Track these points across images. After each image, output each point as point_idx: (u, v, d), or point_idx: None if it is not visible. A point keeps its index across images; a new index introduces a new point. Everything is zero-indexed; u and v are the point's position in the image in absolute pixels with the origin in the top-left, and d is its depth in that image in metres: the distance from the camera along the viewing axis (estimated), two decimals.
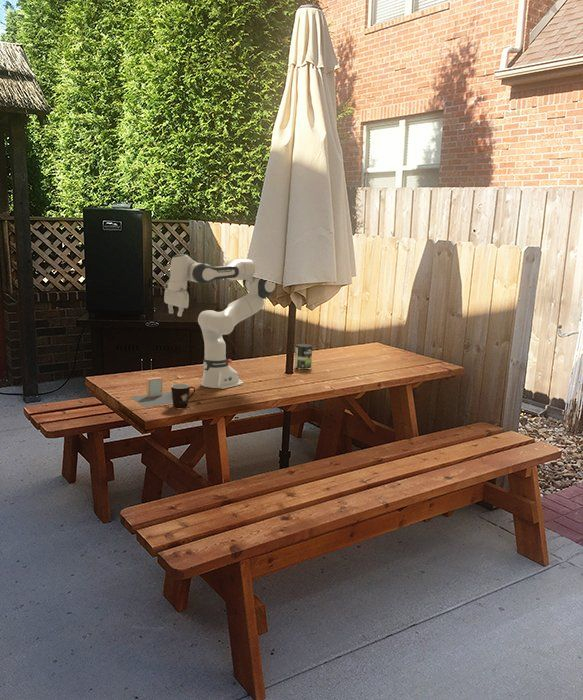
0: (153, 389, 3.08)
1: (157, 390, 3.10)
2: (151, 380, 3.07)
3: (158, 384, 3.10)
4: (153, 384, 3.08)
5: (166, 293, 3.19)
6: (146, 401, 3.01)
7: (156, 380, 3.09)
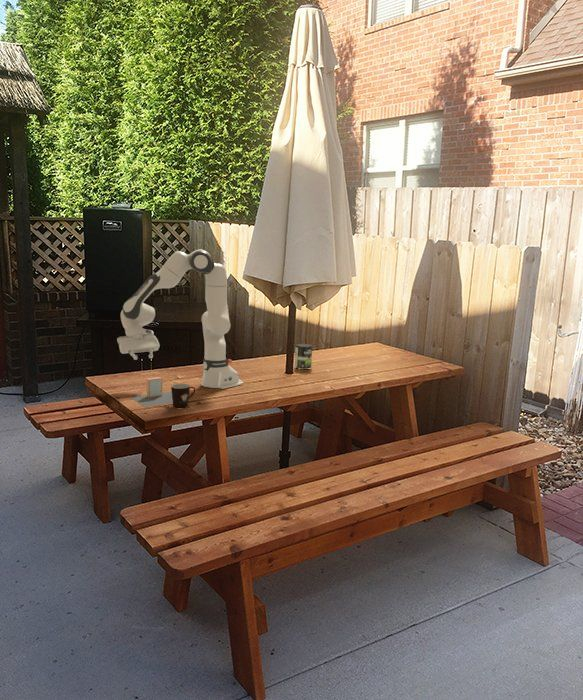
0: (153, 389, 3.08)
1: (157, 390, 3.10)
2: (151, 380, 3.07)
3: (158, 384, 3.10)
4: (153, 384, 3.08)
5: None
6: (146, 401, 3.01)
7: (156, 380, 3.09)
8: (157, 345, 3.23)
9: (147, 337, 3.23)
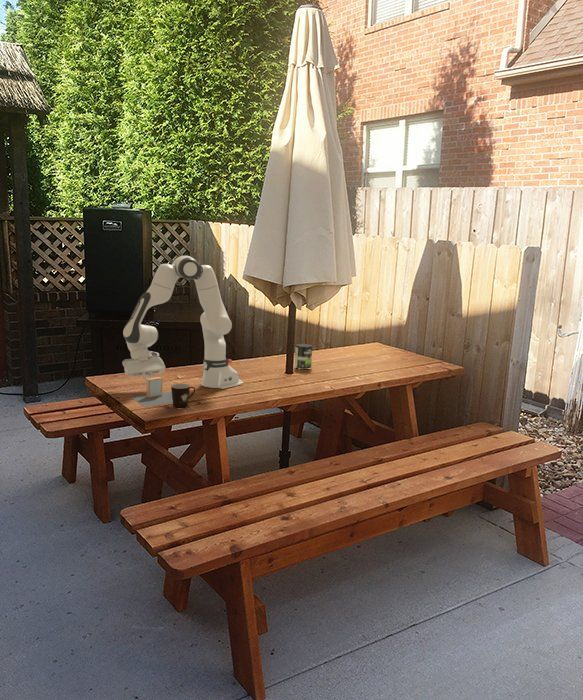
0: (153, 389, 3.08)
1: (157, 390, 3.10)
2: (151, 380, 3.07)
3: (158, 384, 3.10)
4: (153, 384, 3.08)
5: None
6: (146, 401, 3.01)
7: (156, 380, 3.09)
8: (163, 367, 3.20)
9: (152, 359, 3.20)
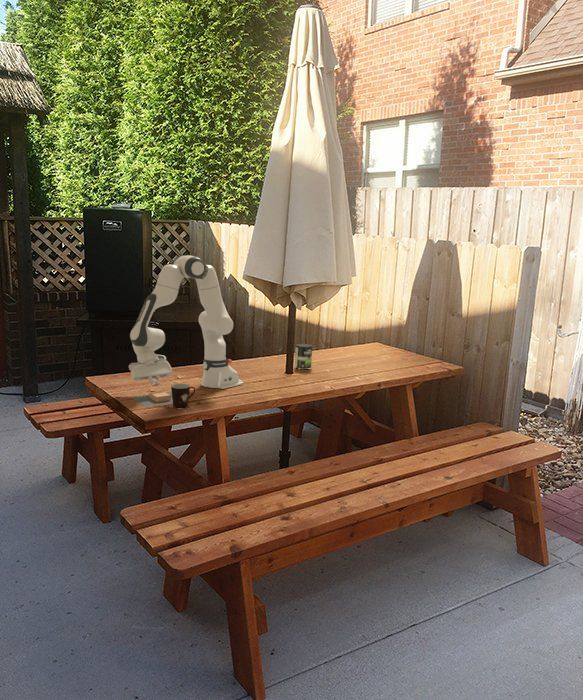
0: None
1: None
2: (159, 401, 3.02)
3: None
4: None
5: None
6: (146, 401, 3.01)
7: (163, 400, 3.04)
8: (170, 371, 3.14)
9: (159, 362, 3.14)
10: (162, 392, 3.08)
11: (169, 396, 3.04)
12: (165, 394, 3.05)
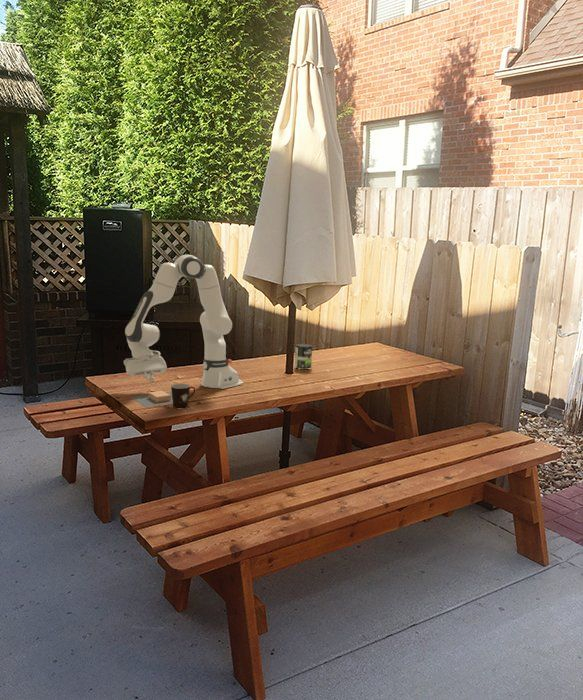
0: None
1: None
2: (159, 401, 3.02)
3: None
4: None
5: None
6: (146, 401, 3.01)
7: (163, 400, 3.04)
8: (164, 366, 3.19)
9: (153, 358, 3.18)
10: (162, 392, 3.08)
11: (169, 396, 3.04)
12: (165, 394, 3.05)
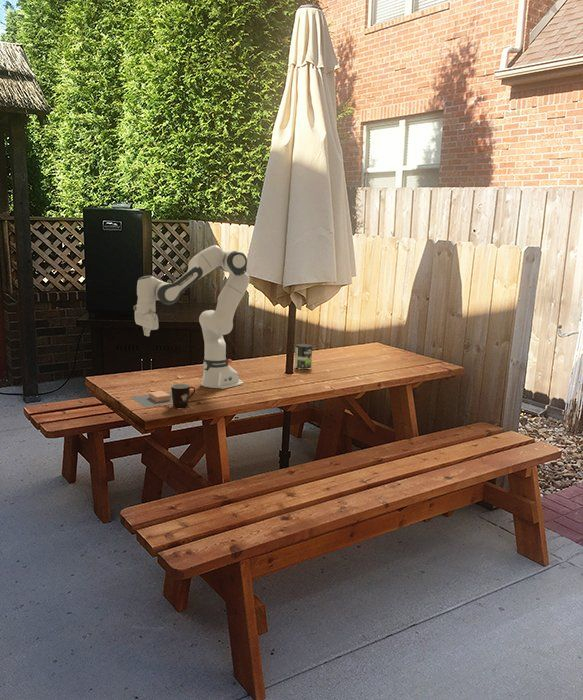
0: None
1: None
2: (159, 401, 3.02)
3: None
4: None
5: (136, 314, 3.22)
6: (146, 401, 3.01)
7: (163, 400, 3.04)
8: None
9: None
10: (162, 392, 3.08)
11: (169, 396, 3.04)
12: (165, 394, 3.05)
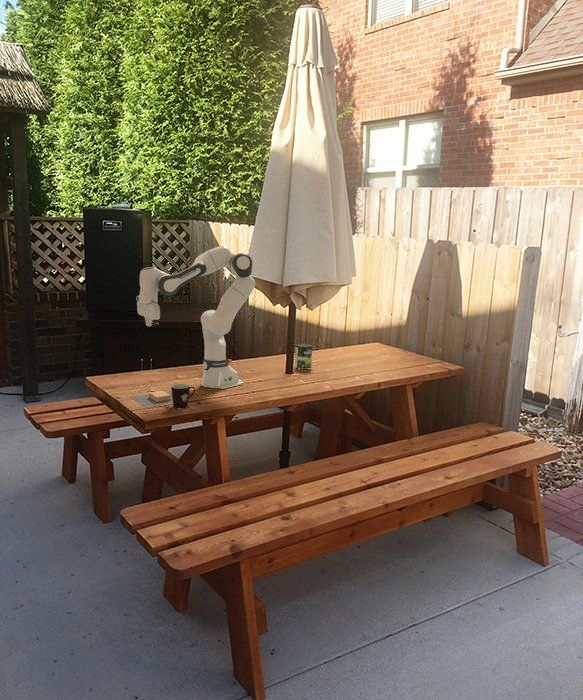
0: None
1: None
2: (159, 401, 3.02)
3: None
4: None
5: (138, 305, 3.29)
6: (146, 401, 3.01)
7: (163, 400, 3.04)
8: None
9: None
10: (162, 392, 3.08)
11: (169, 396, 3.04)
12: (165, 394, 3.05)
